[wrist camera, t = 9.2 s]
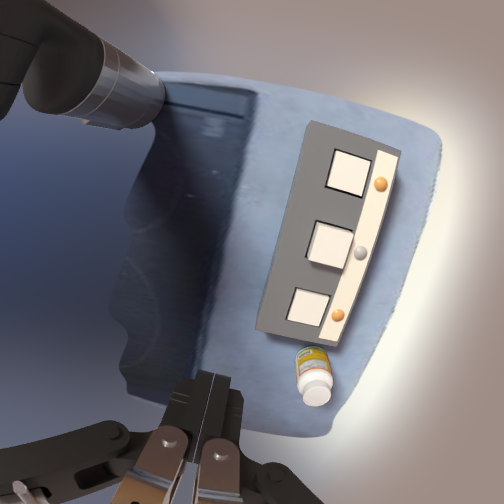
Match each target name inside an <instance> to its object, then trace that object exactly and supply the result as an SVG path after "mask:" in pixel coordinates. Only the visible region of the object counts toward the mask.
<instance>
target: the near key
mask: <svg viewBox="0 0 504 504" xmlns="http://www.w3.org/2000/svg"><path fill="white" fill-rule="evenodd" d="M369 166H370V161H367V160H364V159H361V158H358V157H355V156H352V155H349V154H346V153H342V152H339V151H334V152H333V156H332V160H331V164H330V168H329V172H328V175H327V179H326V183H325V185H327V186H330V187H333V188H337V189H340V190H343V191H347V192H350V193H353V194H356V195H360V196H362V192H363V189H364V185H365V181H366V177H367V173H368V170H369Z"/></svg>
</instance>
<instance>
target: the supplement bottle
mask: <svg viewBox="0 0 504 504" xmlns="http://www.w3.org/2000/svg"><path fill="white" fill-rule="evenodd" d="M295 366H296V378H297V388H298V390H299V392H300V393H301V394H302V395H303V400H304V402H305V403H306V404H307V405H309V406H321V405H323V404H325V403H326V402H328V401H329V399H330V397H331V391H330V390H331V388H332V386H333V377H332V373H331V369H330V365H329V360H328V357H327V354H326V352H325V351H324V350H323V349H322V348H320V347H317V346H309V347H306V348H303V349H302V350H300V351H299V352H298V354H297V355H296V358H295Z"/></svg>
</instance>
